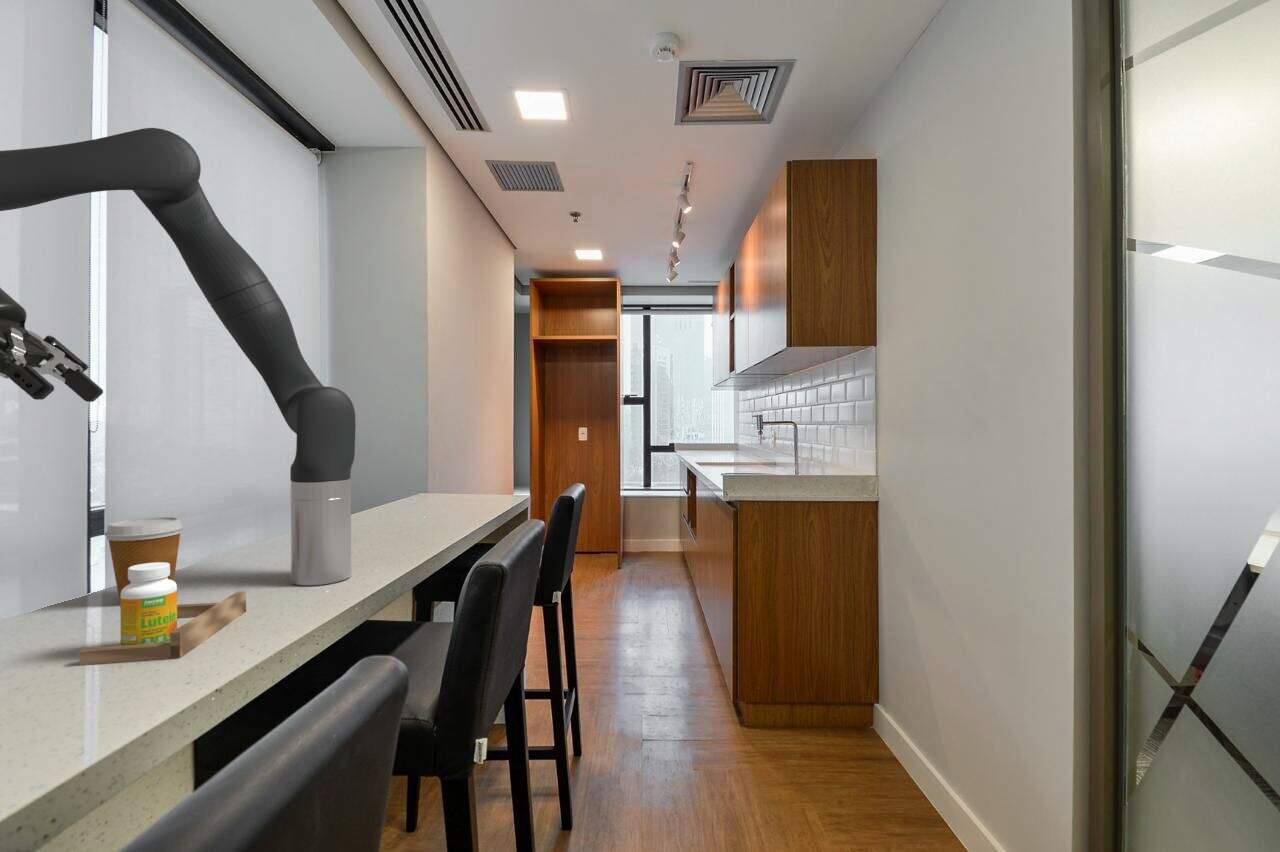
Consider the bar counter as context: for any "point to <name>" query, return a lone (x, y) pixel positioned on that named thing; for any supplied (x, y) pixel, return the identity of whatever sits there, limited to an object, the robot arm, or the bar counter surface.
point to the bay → (175, 633)
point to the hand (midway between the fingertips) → (72, 396)
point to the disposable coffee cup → (143, 544)
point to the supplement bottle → (148, 605)
